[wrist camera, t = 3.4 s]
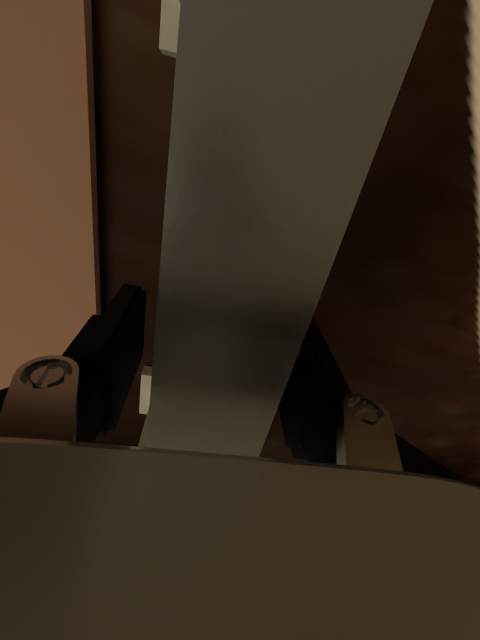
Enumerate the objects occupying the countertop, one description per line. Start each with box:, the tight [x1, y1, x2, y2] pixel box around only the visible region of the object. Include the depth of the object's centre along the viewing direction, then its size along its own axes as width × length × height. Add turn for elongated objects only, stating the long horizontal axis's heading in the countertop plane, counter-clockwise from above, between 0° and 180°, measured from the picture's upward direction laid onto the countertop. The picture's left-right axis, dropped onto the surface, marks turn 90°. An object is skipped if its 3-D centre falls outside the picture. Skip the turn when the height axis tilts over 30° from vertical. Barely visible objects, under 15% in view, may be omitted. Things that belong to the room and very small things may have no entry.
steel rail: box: [146, 0, 434, 457], centre depth 9 cm, size 27×3×3 cm, turn 168°
